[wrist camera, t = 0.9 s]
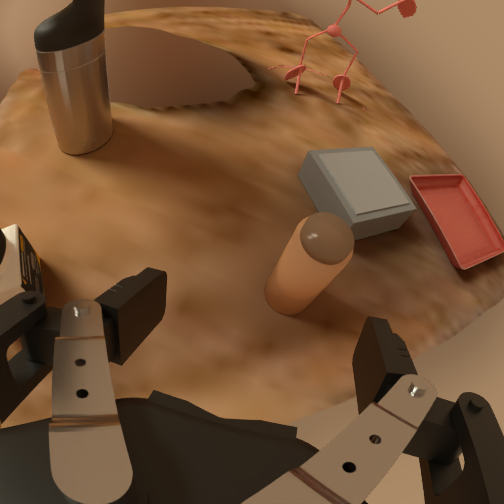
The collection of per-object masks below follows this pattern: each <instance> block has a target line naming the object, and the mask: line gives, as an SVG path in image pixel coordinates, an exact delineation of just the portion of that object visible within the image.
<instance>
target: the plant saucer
mask: <svg viewBox="0 0 504 504" xmlns="http://www.w3.org/2000/svg"><path fill="white" fill-rule="evenodd" d="M409 180H410V186H411V190H412V194H413V196H414V198H415V199H416V201H417V203H418V204H419V206H420V207H421V209H422V211H423V212H424V214H425V216H426V218H427V219H428V221H429V223H430V225H431V226H432V228H433V230H434V232H435V233H436V235H437V237H438V239H439V241H440V243H441V245H442V246H443V248H444V250H445V252H446V254H447V256H448V258H449V260H450V262H451V264H452V265H453V266H455V267H456V268H458V269H462V270H466V269H468V268H470V267H473V266H475V265H477V264H479V263H481V262H484V261H486V260H488V259H490V258H492V257H494V256H497V255H499V254H501V253H503V252H504V241H503V239H502V237H501V235H500V233H499V231H498V230H497V228H496V226H495V224H494V222H493V221H492V219H491V217H490V215H489V214H488V212H487V210H486V209H485V207H484V205H483V204H482V202H481V201H480V199H479V197H478V196H477V194H476V193H475V191H474V190H473V188H472V187H471V185H470V184H469V182H468V181H467V179H466V178H465V177H464V176H463V175H462V174H440V175H411V176H410V177H409Z"/></svg>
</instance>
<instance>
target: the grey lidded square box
mask: <svg viewBox="0 0 504 504" xmlns="http://www.w3.org/2000/svg"><path fill="white" fill-rule="evenodd" d="M298 177H299V179H300V181H301V182H302V184H303V186H304V187H305V189H306V191H307V193H308V194H309V196H310V198H311V200H312V201H313V203H314V205H315V207H316V208H317V210H318V212H328V213H331V214H334V215H336V216H338V217H340V218H341V219H342V220H344V221H345V222H346V223H347V224H348V226H349V227H350V229H351V231H352V233H353V236H354V241H355V240H359V239H362V238H366V237H370V236H373V235H377V234H380V233H384V232H388V231H391V230H395V229H398V228H400V226H401V225H402V224H403V223H404V222H405V221H406V220H407V219H408V218H409V217H410V216H411V214H412V213H413V212H414V211H415V210H416V207H415V205H414V204H413V202H412V201H411V199H410V198H409V196H408V195H407V193H406V192H405V191H404V189H403V188H402V186H401V185H400V183H399V182H398V180H397V179H396V178H395V176H394V175H393V173H392V172H391V171H390V169H389V168H388V167H387V165H386V164H385V162H384V161H383V160H382V158H381V157H380V156H379V155H378V153H377V152H376V151H375V149H374V148H373V147H362V148H342V149H326V150H313V151H308V153H307V155H306V158H305V160H304V162H303V165H302V167H301V169H300V172H299V174H298Z"/></svg>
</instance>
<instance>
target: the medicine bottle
mask: <svg viewBox="0 0 504 504" xmlns="http://www.w3.org/2000/svg"><path fill="white" fill-rule="evenodd" d="M25 291H38V292H41V293H42V294H44V288H43V281H42V274H41V266H40V258H39V256H38V254H37V253H36V251H35V250H34V249H33V247H32V246H31V244H30V243H29V241H28V240H27V238H26V237H25V235H24V234H23V233H22V231H21V229H20V228H19V226H18V225H17V224H14V225H11V226H9V227H6V228H4V229H0V305H1V304H3V303H4V302H6V301H7V300H9V299H10V298H12V297H13V296H15V295H17V294H18V293H21V292H25ZM44 295H45V294H44Z"/></svg>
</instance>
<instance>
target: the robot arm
mask: <svg viewBox="0 0 504 504" xmlns="http://www.w3.org/2000/svg"><path fill="white" fill-rule="evenodd" d="M104 3H105V2H104V0H73V1H72V3H71V4H69V5H68V6H67V7H66V8H64V9H63V10H61V11H60V12H58V13H56V14H54V15H53V16H51V17H49V18H48V19H46V20H44V21H43V22H42V23H41V24H40V25H39V26H38V27H37V28H36V29H35V32H34V41H35V47H36V53H37V59H38V64H39V69H40V74H41V79H42V84H43V88H44V93H45V97H46V101H47V105H48V109H49V113H50V117H51V121H52V124H53V128H54V132H55V135H56V139H57V142H58V145H59V148H60V149H61V150H62V151H63V152H65V153H67V154H73V155H77V154H84V153H88V152H91V151H93V150H95V149H97V148H99V147H101V146H102V145H103V144H105V143H106V142H107V141H108V140H109V138H110V137H111V135H112V132H113V125H112V117H111V107H110V98H109V88H108V78H107V65H106V50H105V30H104ZM166 288H167V274H166V272H165V271H161V270H157V269H153V268H149V267H148V268H146V269H145V270H143V271H142V272H141V273H139V274H138V275H136V276H131V277H128V278H125V279H123V280H121V281H120V282H118V283H117V284H116V285H114V286H113V287H111V288H110V289H109V290H107V291H106V292H104V293H103V294H102V295H100V296H99V297H97V298H96V299H95V300H89V299H76V300H72V301H70V302H68V303H66V304H65V305H64V306H63V309H58V308H52V307H47V304H46V297H45V295H44V294H42V293H41V292H38V291H25V292H21V293H18V294H17V295H15V296H13V297H12V298H10V299H9V300H7V301H6V302H4V303H3V304H1V305H0V504H368V503H367V502H366V501H365V499H366V498H367V496H368V495H369V494H370V493H371V491H373V489H374V488H375V487H376V486H377V484H378V483H379V482H380V481H381V479H382V478H383V477H384V476H385V474H386V473H387V472H388V471H389V469H390V468H391V467H392V465H393V464H394V463H395V461H396V460H397V459H398V457H399V456H400V454H401V453H405V454H409V455H412V456H416V457H419V462H420V467H421V475H422V483H423V490H424V499H425V504H504V436H503V433H502V431H501V429H500V427H499V424H498V422H497V419H496V417H495V415H494V413H493V411H492V408H491V406H490V404H489V403H488V402H487V401H486V400H485V399H484V398H483V397H481V396H480V395H478V394H475V393H471V392H465V393H462V394H461V395H460V396H459V398H458V399H457V401H456V403H454V402H451V401H448V400H445V399H442V398H439V397H437V390H436V388H435V386H434V385H433V384H432V383H431V382H430V381H429V380H427V379H426V378H424V377H421V376H418V374H417V371H416V369H415V367H414V364H413V361H412V359H411V358H410V354H409V352H408V351H407V350H408V349H407V347H406V345H405V342H404V341H403V340H402V339H401V338H400V337H399V336H398V335H397V334H396V333H392V331H391V328H390V326H389V323H388V321H387V320H386V319H381V318H376V317H370V316H369V317H368V318H367V319H366V321H365V324H364V327H363V329H362V332H361V335H360V337H359V340H358V343H357V345H356V348H355V351H354V355H353V361H352V366H353V373H354V380H355V387H356V395H357V403H358V411H359V416H358V417H357V418H356V419H355V420H354V421H353V422H351V423H350V424H349V425H348V426H347V427H346V428H345V429H344V430H343V431H342V432H341V433H340V434H339V435H337V436H336V437H335V438H334V439H333V440H332V441H331V442H329V444H327V445H326V446H325V447H324V448H323V449H321V450H318V449H317V448H315V447H314V446H312V445H310V444H309V443H307V442H305V441H303V440H300V439H298V438H296V434H297V427H293V426H287V425H282V424H277V423H272V422H267V421H262V420H241V419H225V418H220V417H217V416H215V415H213V414H211V413H209V412H207V411H205V410H203V409H201V408H199V407H198V406H196V405H194V404H192V403H190V402H188V401H186V400H182V399H179V398H176V397H173V396H170V395H167V394H164V393H161V392H158V391H155V390H154V391H153V392H152V394H151V395H150V397H149V398H148V399H146V398H121V399H116V400H115V398H114V392H113V387H112V382H111V376H110V370H109V364H108V363H109V362H110V361H111V362H114V363H116V364H119V365H121V366H122V365H123V364H124V362H125V361H126V360H127V359H128V358H129V357H130V355H131V354H132V353H133V352H134V351H135V350H136V349H137V347H138V346H139V345H140V344H141V343H142V342H143V341H144V339H145V338H146V337H147V336H148V335H149V334H150V333H151V331H152V330H153V329H154V328H155V327H156V326H157V325H158V324H159V322H160V321H161V320H162V318H163V316H164V313H165V308H166ZM19 337H20V341H21V345H22V350H21V351H20V352H19V353H17V354H16V355H15V356H14V357H13V358H12V359H11V360H9V361H7V357H6V354H7V350H8V347H9V346H10V345H11V344H12V343H13V342H14V341H16V340H17V339H18V338H19ZM52 369H53V376H52V417H51V418H47V419H43V420H39V421H34V422H30V423H26V424H21V425H17V426H12V427H7V428H2V429H1V424H2V423H3V422H4V421H5V420H6V419H7V417H8V416H9V415H10V414H11V413H12V412H13V411H14V410H15V409H16V407H17V406H18V405H19V404H20V403H21V402H22V401H23V400H24V399H25V398H26V397H27V396H28V394H29V393H30V392H31V391H32V390H33V389H34V388H35V387H36V386H37V385H38V384H39V383H40V382H41V381H42V380H43V379H44V378H45V377H46V375H47V374H48V373H49V372H50V371H51V370H52ZM461 453H463V456H464V461H465V464H464V469H463V471H462V469H461V465H460V461H459V455H460V454H461Z"/></svg>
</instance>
